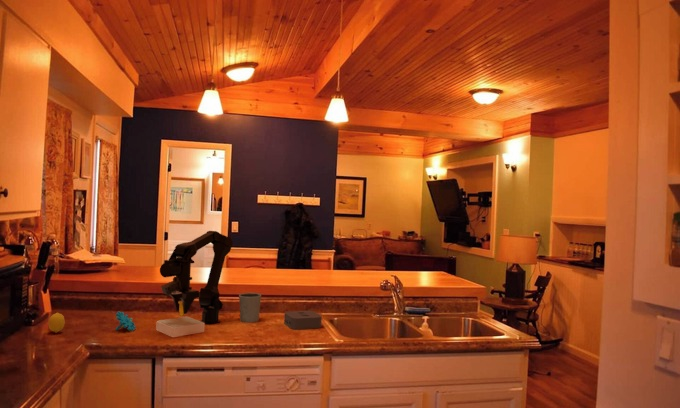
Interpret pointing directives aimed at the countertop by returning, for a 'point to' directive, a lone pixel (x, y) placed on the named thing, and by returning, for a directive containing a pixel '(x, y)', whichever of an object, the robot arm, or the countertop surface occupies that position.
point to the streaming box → (302, 319)
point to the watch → (181, 308)
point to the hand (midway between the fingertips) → (181, 312)
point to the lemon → (56, 322)
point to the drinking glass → (249, 307)
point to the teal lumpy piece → (125, 321)
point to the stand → (179, 326)
